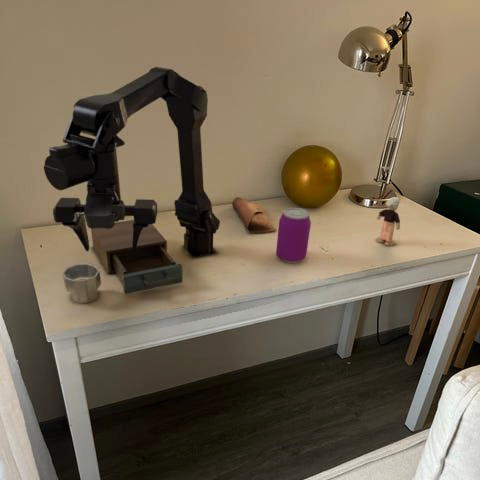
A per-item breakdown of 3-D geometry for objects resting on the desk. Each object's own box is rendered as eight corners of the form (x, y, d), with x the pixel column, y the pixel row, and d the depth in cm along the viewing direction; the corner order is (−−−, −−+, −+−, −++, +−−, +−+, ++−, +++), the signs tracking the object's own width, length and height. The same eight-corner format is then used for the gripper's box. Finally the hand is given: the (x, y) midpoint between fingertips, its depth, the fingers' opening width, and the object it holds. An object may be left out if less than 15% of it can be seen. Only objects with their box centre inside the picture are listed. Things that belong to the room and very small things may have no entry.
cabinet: (167, 262, 123) (166, 240, 119) (108, 274, 117) (106, 251, 114) (148, 238, 133) (146, 217, 130) (93, 247, 127) (90, 226, 124)
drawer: (189, 290, 111) (188, 273, 109) (130, 303, 106) (129, 286, 103) (162, 256, 124) (161, 240, 121) (108, 266, 118) (106, 250, 116)
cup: (97, 284, 113) (93, 261, 109) (105, 301, 108) (102, 277, 104) (64, 291, 110) (59, 267, 107) (71, 308, 105) (67, 283, 101)
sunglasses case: (277, 229, 140) (266, 211, 136) (255, 243, 140) (244, 224, 136) (258, 205, 154) (248, 187, 150) (238, 217, 155) (228, 200, 151)
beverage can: (279, 265, 125) (284, 219, 118) (272, 250, 131) (276, 206, 124) (309, 263, 126) (316, 218, 119) (301, 249, 132) (306, 206, 125)
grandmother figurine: (400, 244, 138) (411, 199, 130) (393, 248, 135) (404, 203, 128) (375, 234, 142) (385, 191, 134) (368, 238, 139) (377, 194, 132)
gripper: (38, 189, 85) (53, 270, 94) (150, 191, 86) (154, 271, 95) (54, 167, 94) (67, 243, 103) (155, 170, 95) (159, 244, 104)
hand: (111, 250), depth 101 cm, fingers open, 9 cm apart
